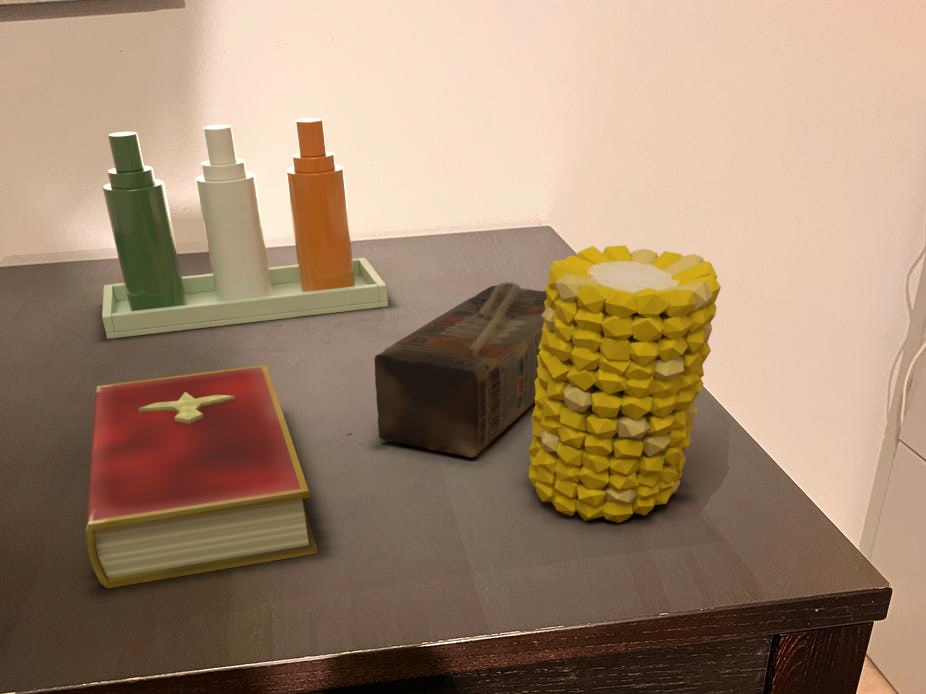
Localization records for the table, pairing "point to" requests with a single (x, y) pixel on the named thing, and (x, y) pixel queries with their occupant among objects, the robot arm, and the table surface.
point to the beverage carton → (462, 372)
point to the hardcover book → (192, 478)
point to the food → (619, 378)
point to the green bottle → (142, 229)
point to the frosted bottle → (232, 220)
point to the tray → (241, 303)
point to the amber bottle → (319, 212)
